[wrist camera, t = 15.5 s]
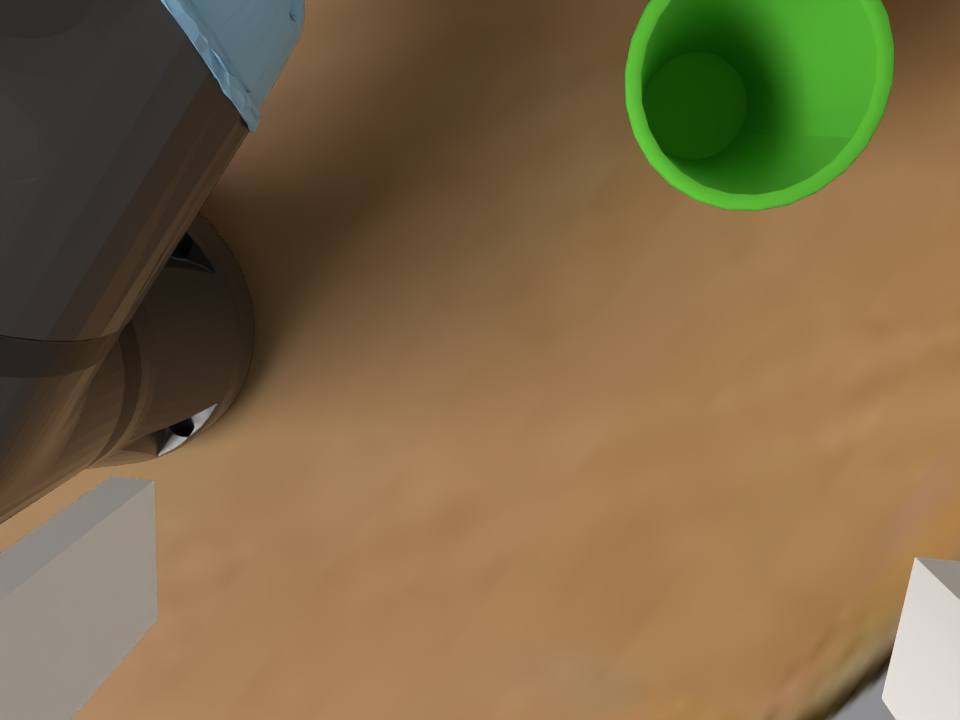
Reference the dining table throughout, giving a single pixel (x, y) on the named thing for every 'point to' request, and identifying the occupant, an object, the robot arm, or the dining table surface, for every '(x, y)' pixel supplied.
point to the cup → (757, 94)
